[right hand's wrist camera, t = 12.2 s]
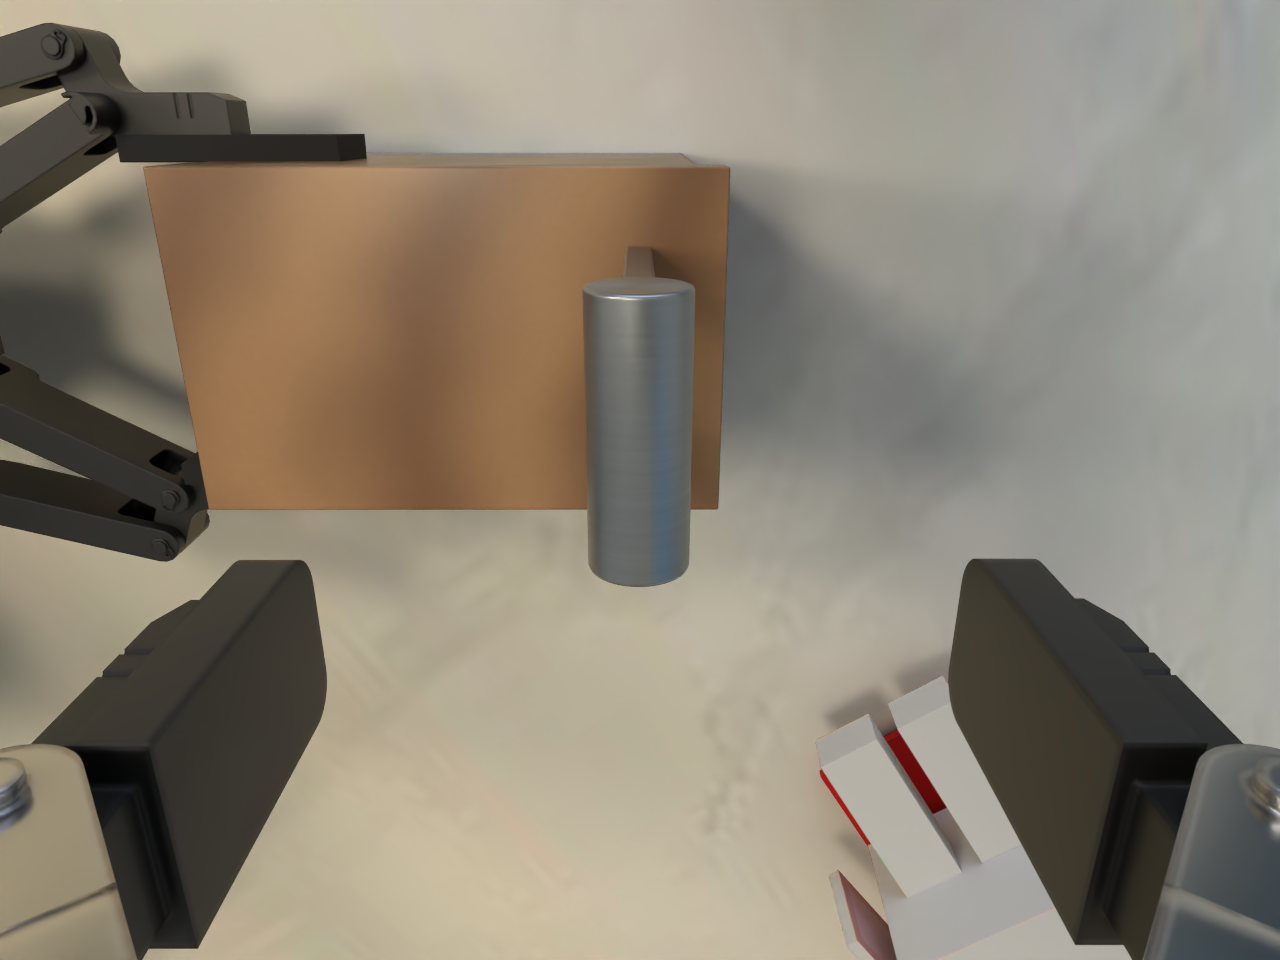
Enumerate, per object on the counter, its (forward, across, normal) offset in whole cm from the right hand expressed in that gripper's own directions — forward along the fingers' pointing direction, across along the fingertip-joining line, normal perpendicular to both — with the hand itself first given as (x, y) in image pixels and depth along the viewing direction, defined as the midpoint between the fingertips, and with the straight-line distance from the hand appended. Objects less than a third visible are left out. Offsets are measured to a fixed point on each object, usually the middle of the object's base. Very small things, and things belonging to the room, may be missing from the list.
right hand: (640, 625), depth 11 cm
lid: (+16, -5, 0) cm, 17 cm away
